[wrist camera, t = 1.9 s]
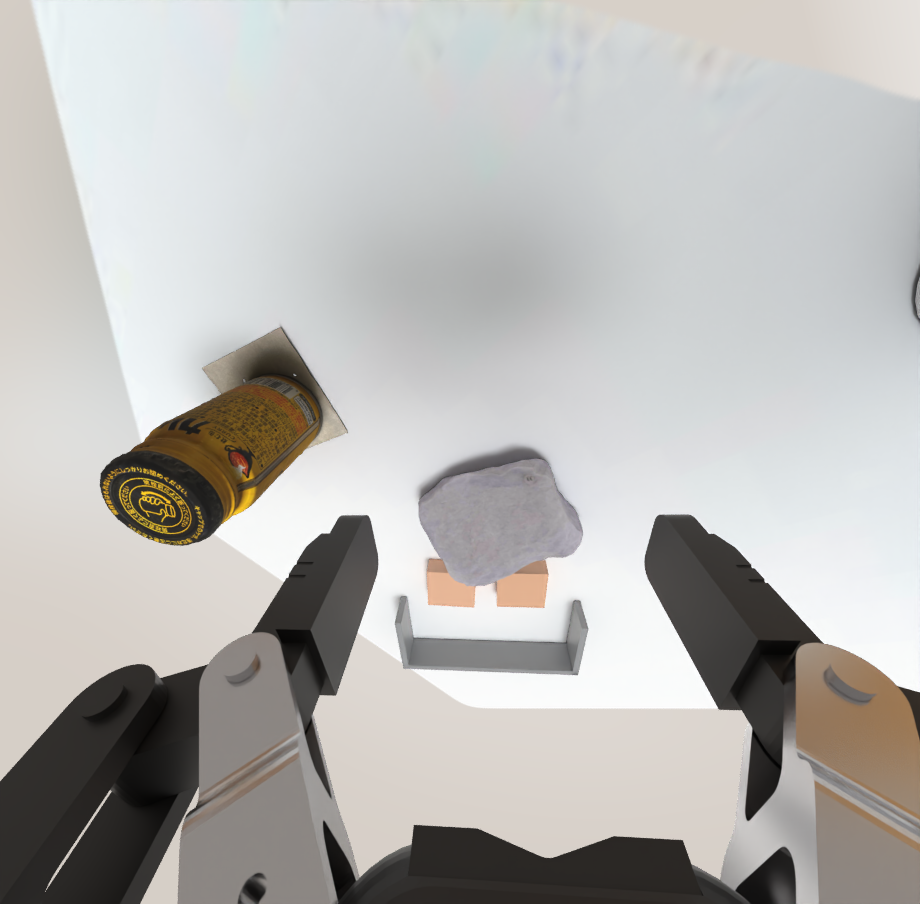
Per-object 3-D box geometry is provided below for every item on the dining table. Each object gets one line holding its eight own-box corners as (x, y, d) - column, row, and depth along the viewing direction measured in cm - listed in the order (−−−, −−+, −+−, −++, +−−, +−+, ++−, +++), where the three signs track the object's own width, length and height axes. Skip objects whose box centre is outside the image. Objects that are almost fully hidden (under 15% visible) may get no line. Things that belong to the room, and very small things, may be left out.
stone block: (413, 483, 31) (465, 569, 33) (398, 506, 27) (458, 605, 29) (534, 425, 28) (582, 524, 30) (540, 441, 24) (596, 555, 26)
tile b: (497, 556, 33) (497, 573, 31) (544, 557, 33) (548, 574, 31) (496, 589, 35) (496, 606, 33) (541, 590, 35) (544, 607, 33)
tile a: (429, 555, 33) (427, 571, 32) (476, 558, 33) (475, 574, 31) (430, 587, 36) (428, 604, 34) (474, 590, 35) (474, 607, 34)
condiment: (275, 460, 29) (156, 574, 18) (203, 367, 25) (3, 441, 15) (349, 431, 27) (264, 537, 16) (283, 326, 23) (121, 376, 13)
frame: (401, 596, 36) (394, 623, 33) (580, 601, 35) (588, 628, 32) (408, 641, 39) (403, 668, 37) (571, 646, 38) (577, 675, 35)
